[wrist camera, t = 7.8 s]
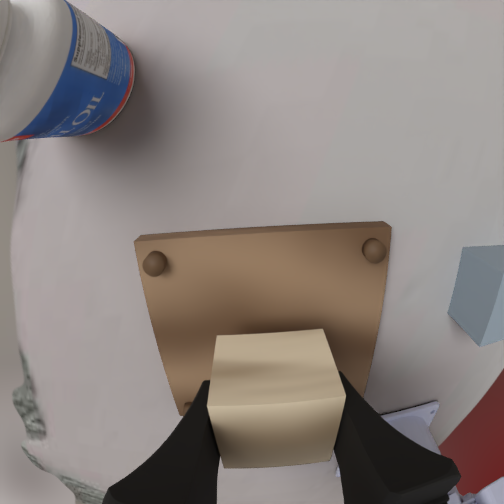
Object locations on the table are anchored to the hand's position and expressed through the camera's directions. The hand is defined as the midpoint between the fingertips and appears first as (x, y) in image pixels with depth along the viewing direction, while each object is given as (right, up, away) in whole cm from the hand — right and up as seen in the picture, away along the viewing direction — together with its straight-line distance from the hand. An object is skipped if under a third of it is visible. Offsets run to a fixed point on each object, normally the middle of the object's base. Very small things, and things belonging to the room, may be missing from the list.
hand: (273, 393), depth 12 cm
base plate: (0, +2, +4) cm, 5 cm away
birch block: (0, +1, +1) cm, 1 cm away
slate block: (+14, +4, +4) cm, 15 cm away
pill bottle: (-9, +14, 0) cm, 17 cm away
